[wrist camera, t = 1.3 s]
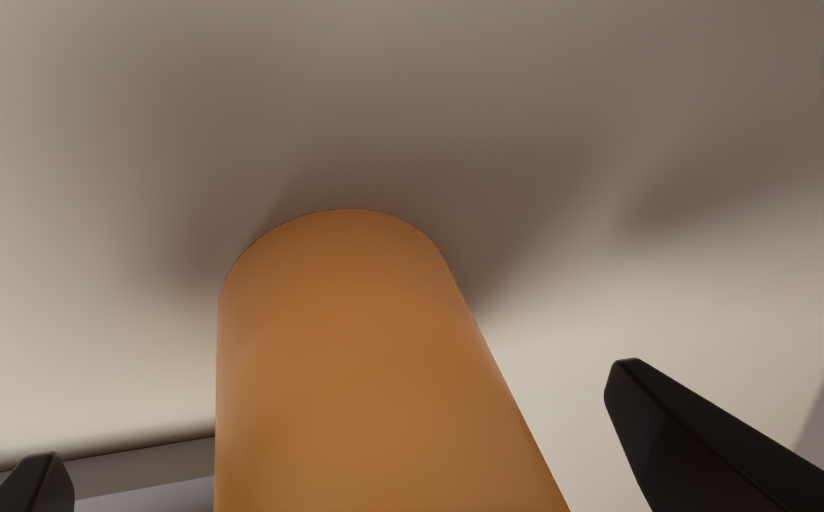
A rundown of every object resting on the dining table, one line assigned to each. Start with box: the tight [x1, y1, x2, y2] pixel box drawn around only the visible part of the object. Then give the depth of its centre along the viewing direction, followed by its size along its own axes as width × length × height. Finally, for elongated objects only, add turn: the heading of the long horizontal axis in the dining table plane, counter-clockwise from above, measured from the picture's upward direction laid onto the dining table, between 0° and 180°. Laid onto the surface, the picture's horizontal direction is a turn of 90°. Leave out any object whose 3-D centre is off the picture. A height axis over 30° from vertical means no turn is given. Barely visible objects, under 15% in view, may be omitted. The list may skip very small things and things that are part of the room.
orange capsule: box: [213, 209, 570, 512], centre depth 10 cm, size 5×5×6 cm
